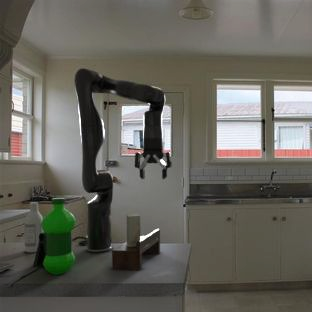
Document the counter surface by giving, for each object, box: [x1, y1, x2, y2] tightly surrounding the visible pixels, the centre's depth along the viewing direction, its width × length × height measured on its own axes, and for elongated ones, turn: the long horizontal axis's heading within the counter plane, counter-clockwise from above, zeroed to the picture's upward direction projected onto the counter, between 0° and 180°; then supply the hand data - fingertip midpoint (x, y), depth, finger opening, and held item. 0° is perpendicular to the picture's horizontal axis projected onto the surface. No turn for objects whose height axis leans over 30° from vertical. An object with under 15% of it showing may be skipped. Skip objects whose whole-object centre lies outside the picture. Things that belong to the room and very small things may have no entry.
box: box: [126, 213, 141, 247], centre depth 133 cm, size 5×4×11 cm
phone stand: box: [32, 232, 46, 268], centre depth 132 cm, size 9×6×12 cm, turn 67°
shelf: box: [111, 228, 161, 271], centre depth 137 cm, size 10×22×10 cm, turn 174°
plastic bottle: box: [42, 197, 76, 275], centre depth 124 cm, size 10×10×25 cm
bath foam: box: [24, 201, 44, 253], centre depth 152 cm, size 7×7×20 cm
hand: (153, 178), depth 144 cm, fingers open, 8 cm apart
